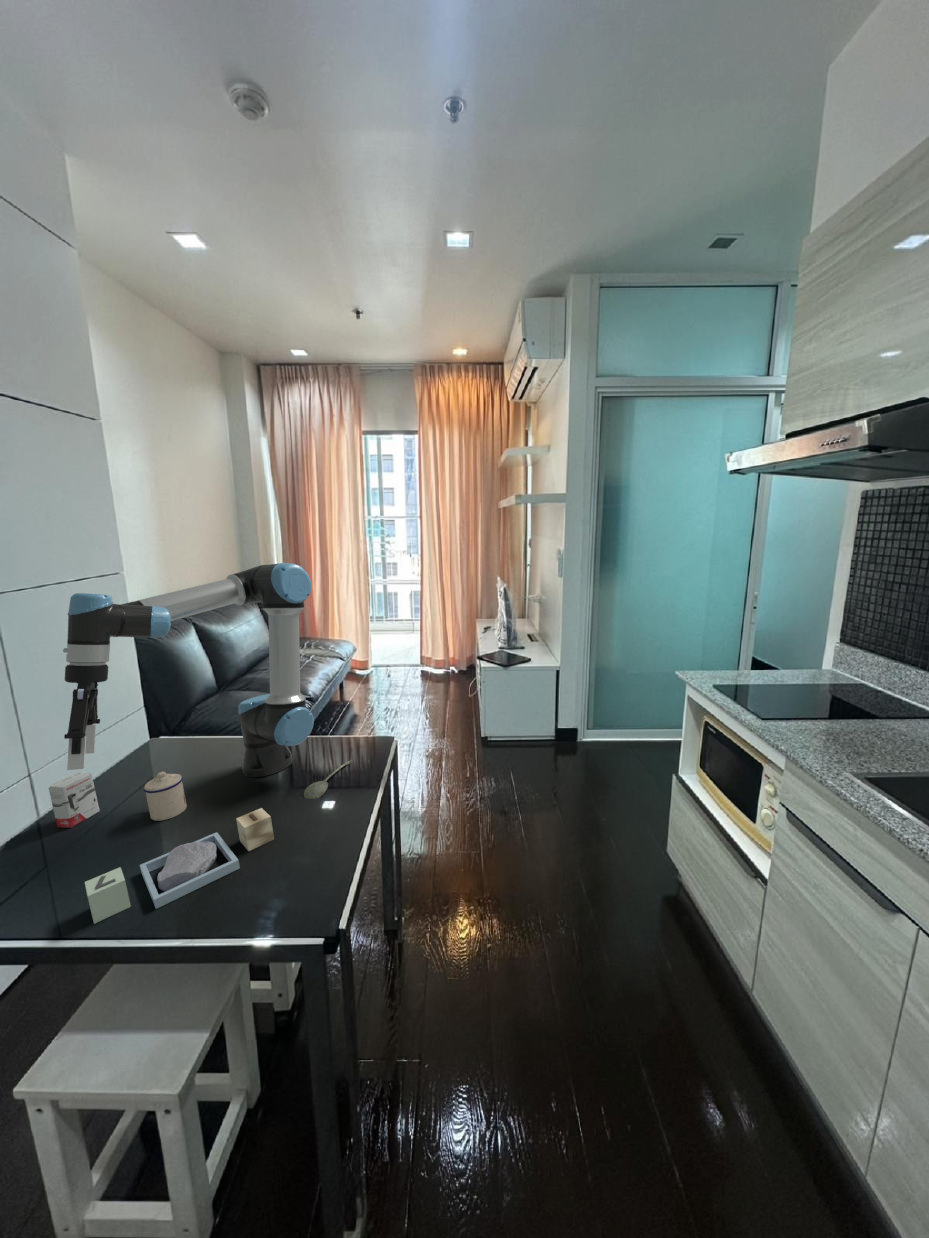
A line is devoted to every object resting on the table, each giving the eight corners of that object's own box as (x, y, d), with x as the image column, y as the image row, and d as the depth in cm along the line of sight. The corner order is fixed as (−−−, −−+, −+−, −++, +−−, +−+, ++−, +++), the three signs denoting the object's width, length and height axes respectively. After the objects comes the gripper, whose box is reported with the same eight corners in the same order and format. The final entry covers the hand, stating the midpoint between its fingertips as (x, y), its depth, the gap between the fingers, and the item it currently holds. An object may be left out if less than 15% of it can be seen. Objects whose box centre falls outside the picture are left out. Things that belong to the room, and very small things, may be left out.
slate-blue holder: (218, 839, 119) (216, 831, 119) (240, 868, 107) (238, 859, 107) (141, 873, 109) (139, 864, 108) (155, 908, 97) (154, 899, 96)
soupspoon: (298, 801, 136) (319, 804, 134) (297, 790, 135) (317, 793, 133) (341, 763, 157) (359, 765, 154) (340, 753, 156) (358, 755, 154)
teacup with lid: (195, 806, 136) (187, 767, 134) (162, 824, 128) (154, 783, 127) (169, 799, 142) (161, 761, 140) (136, 816, 134) (128, 776, 132)
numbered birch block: (265, 830, 122) (261, 807, 121) (274, 839, 117) (270, 815, 116) (240, 841, 118) (235, 817, 117) (248, 851, 113) (244, 826, 112)
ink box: (71, 828, 131) (61, 787, 129) (56, 827, 132) (46, 787, 130) (101, 810, 139) (92, 771, 137) (87, 810, 140) (78, 771, 138)
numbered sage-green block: (126, 892, 103) (120, 865, 102) (130, 906, 98) (124, 879, 97) (90, 908, 99) (84, 881, 98) (94, 924, 94) (87, 895, 93)
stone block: (220, 857, 115) (172, 859, 112) (221, 838, 114) (173, 840, 112) (207, 892, 104) (154, 896, 101) (208, 872, 103) (154, 875, 100)
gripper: (76, 659, 117) (71, 748, 116) (52, 668, 95) (45, 778, 95) (115, 659, 120) (110, 746, 120) (100, 668, 99) (94, 774, 98)
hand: (81, 760), depth 107 cm, fingers open, 13 cm apart
